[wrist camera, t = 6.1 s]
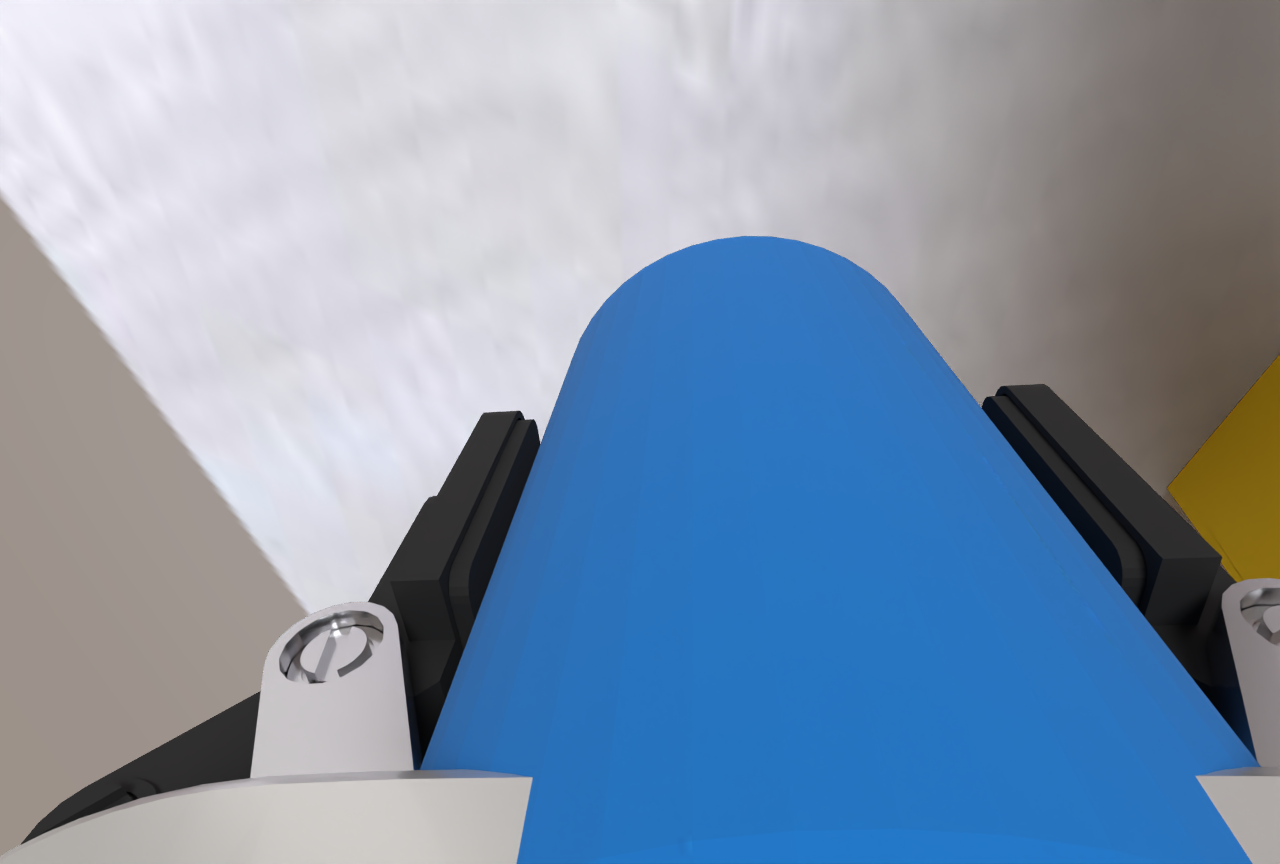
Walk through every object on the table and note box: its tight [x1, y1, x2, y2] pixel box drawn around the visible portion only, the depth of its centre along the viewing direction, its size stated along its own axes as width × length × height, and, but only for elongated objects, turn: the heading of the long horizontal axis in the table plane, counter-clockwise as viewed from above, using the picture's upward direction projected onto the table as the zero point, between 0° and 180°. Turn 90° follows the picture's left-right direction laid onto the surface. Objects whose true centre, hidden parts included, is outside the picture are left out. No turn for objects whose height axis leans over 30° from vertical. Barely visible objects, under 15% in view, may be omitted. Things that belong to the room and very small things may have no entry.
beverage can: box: [420, 236, 1261, 864], centre depth 9 cm, size 6×6×12 cm
